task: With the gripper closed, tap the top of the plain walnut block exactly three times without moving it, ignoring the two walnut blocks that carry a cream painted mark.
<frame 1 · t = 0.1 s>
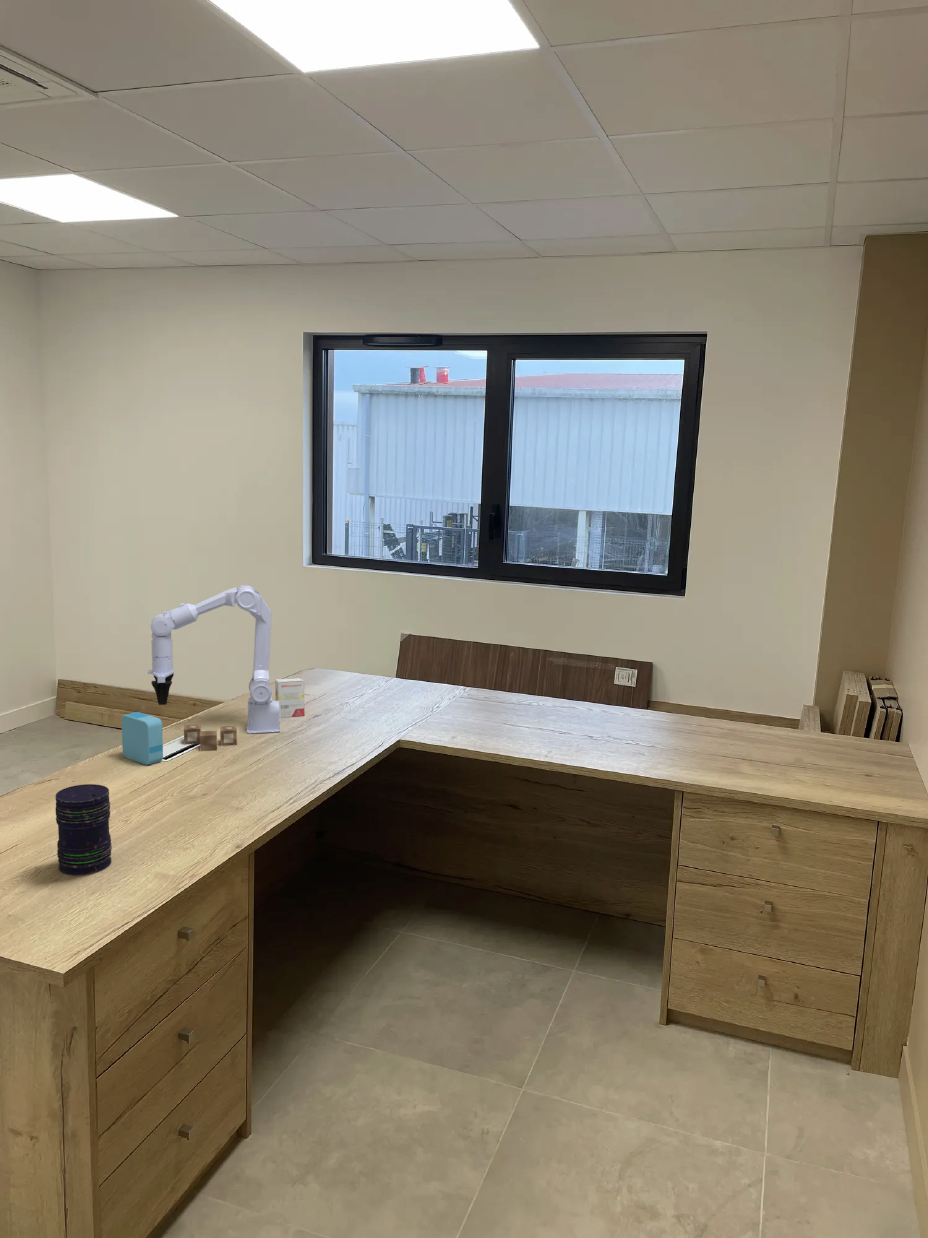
hand: (163, 701, 260), 10 cm above the table, tool pointing down, fingers open, 7 cm apart
marked block 2: (228, 743, 255), on the table
dark blue barrel: (85, 865, 176), on the table
ink box: (289, 715, 286), on the table
plain block: (208, 748, 250), on the table
marked block 1: (192, 742, 256), on the table
data package: (142, 760, 239), on the table
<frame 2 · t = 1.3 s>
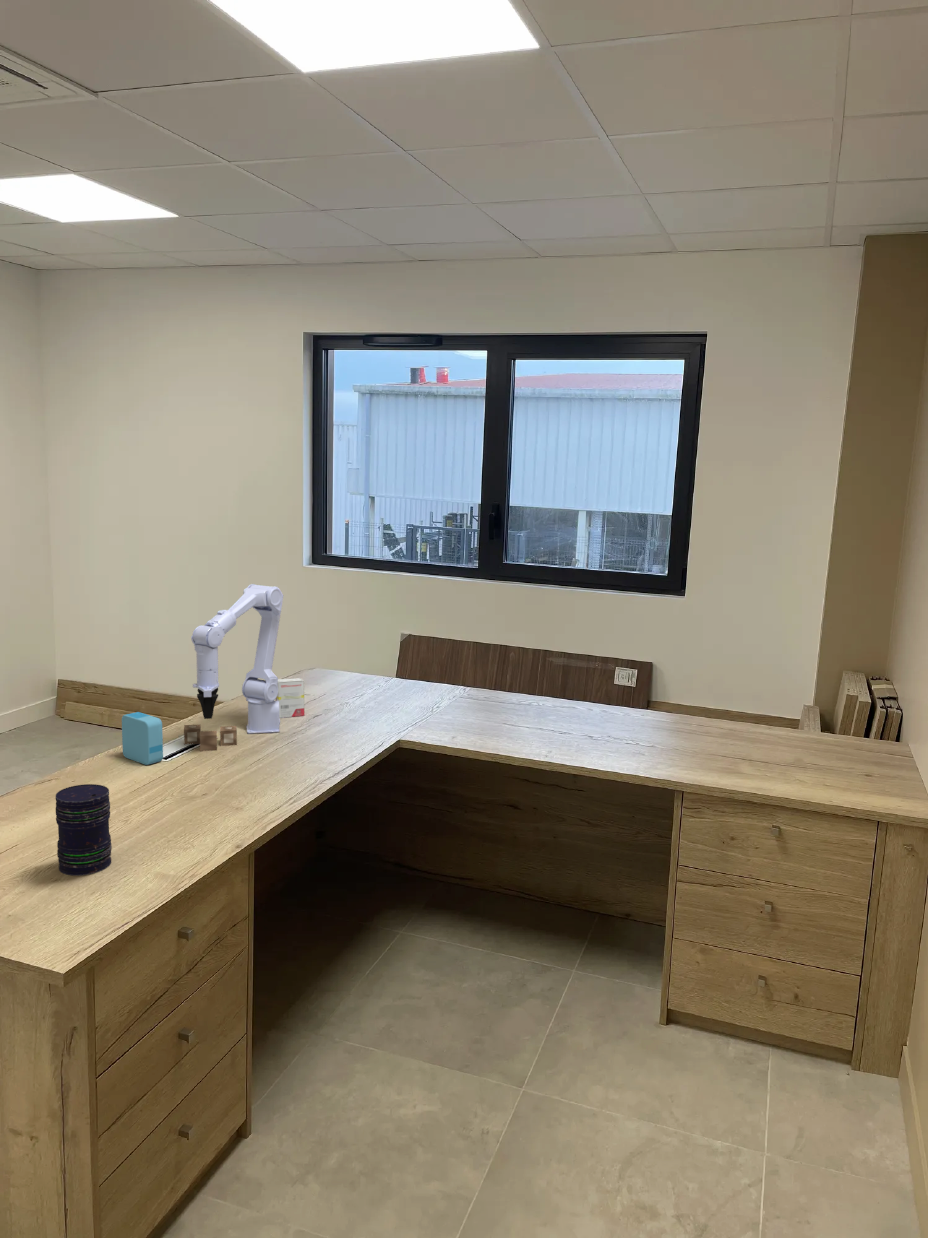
hand: (208, 716, 249), 9 cm above the table, tool pointing down, fingers open, 4 cm apart
nothing on the table moved.
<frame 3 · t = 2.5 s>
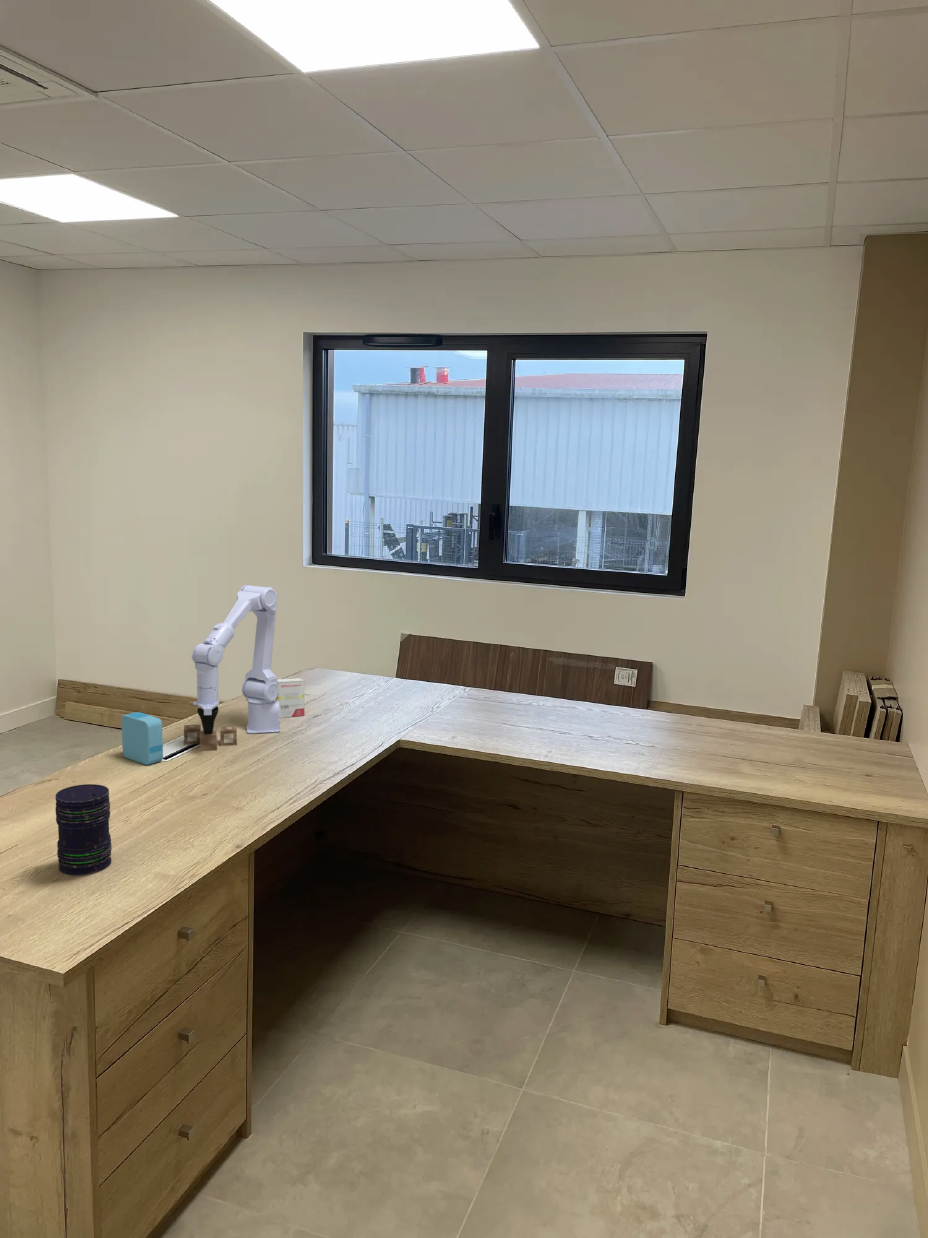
hand: (208, 733, 249), 4 cm above the table, tool pointing down, fingers closed, pressing on plain block
plain block: (208, 748, 250), on the table, touching gripper
everything else where it was.
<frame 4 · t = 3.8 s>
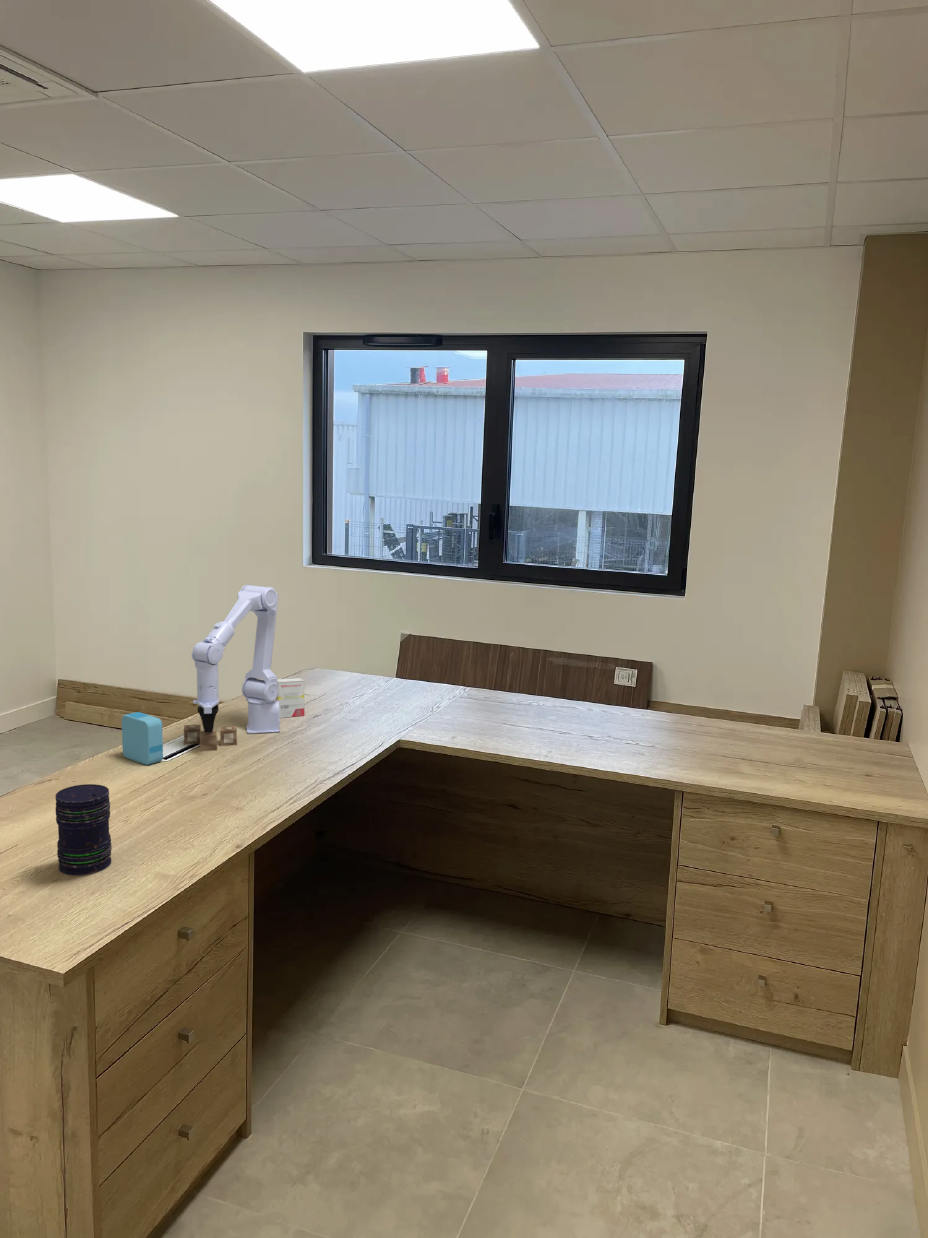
hand: (208, 731, 249), 5 cm above the table, tool pointing down, fingers closed
plain block: (208, 748, 250), on the table
everything else where it was.
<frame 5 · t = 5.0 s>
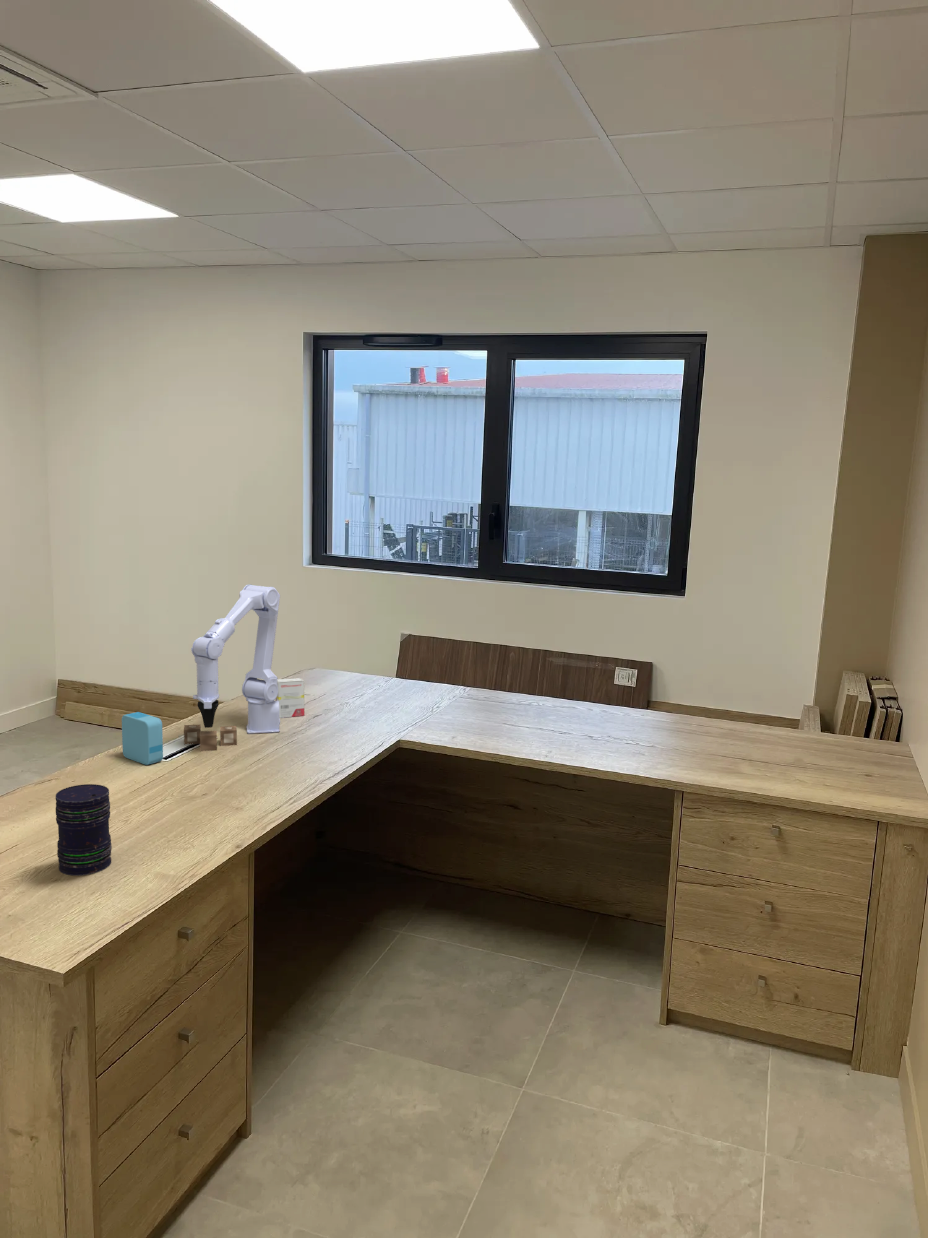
hand: (208, 727, 249), 6 cm above the table, tool pointing down, fingers closed
nothing on the table moved.
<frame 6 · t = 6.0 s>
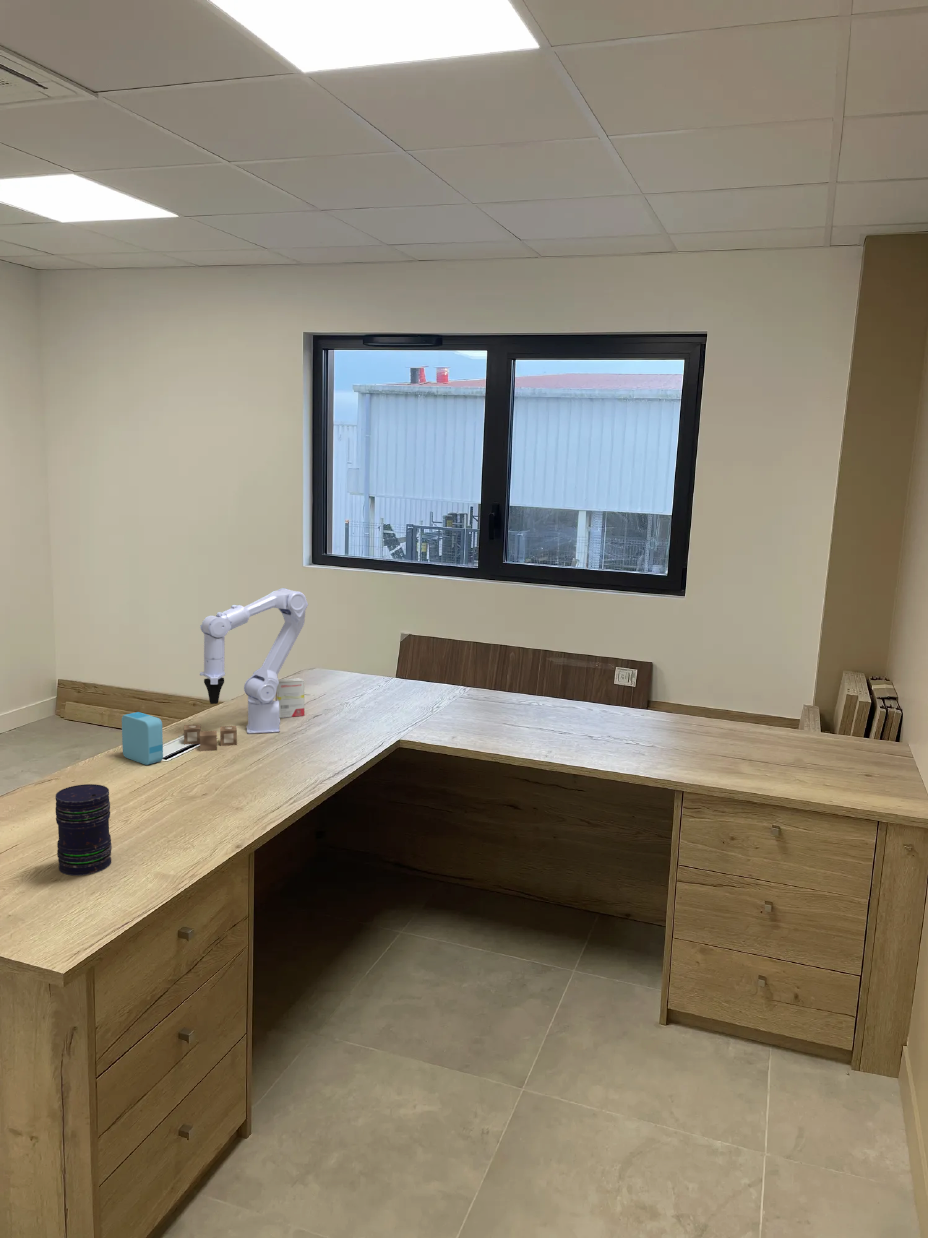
hand: (214, 703, 258), 10 cm above the table, tool pointing down, fingers closed
nothing on the table moved.
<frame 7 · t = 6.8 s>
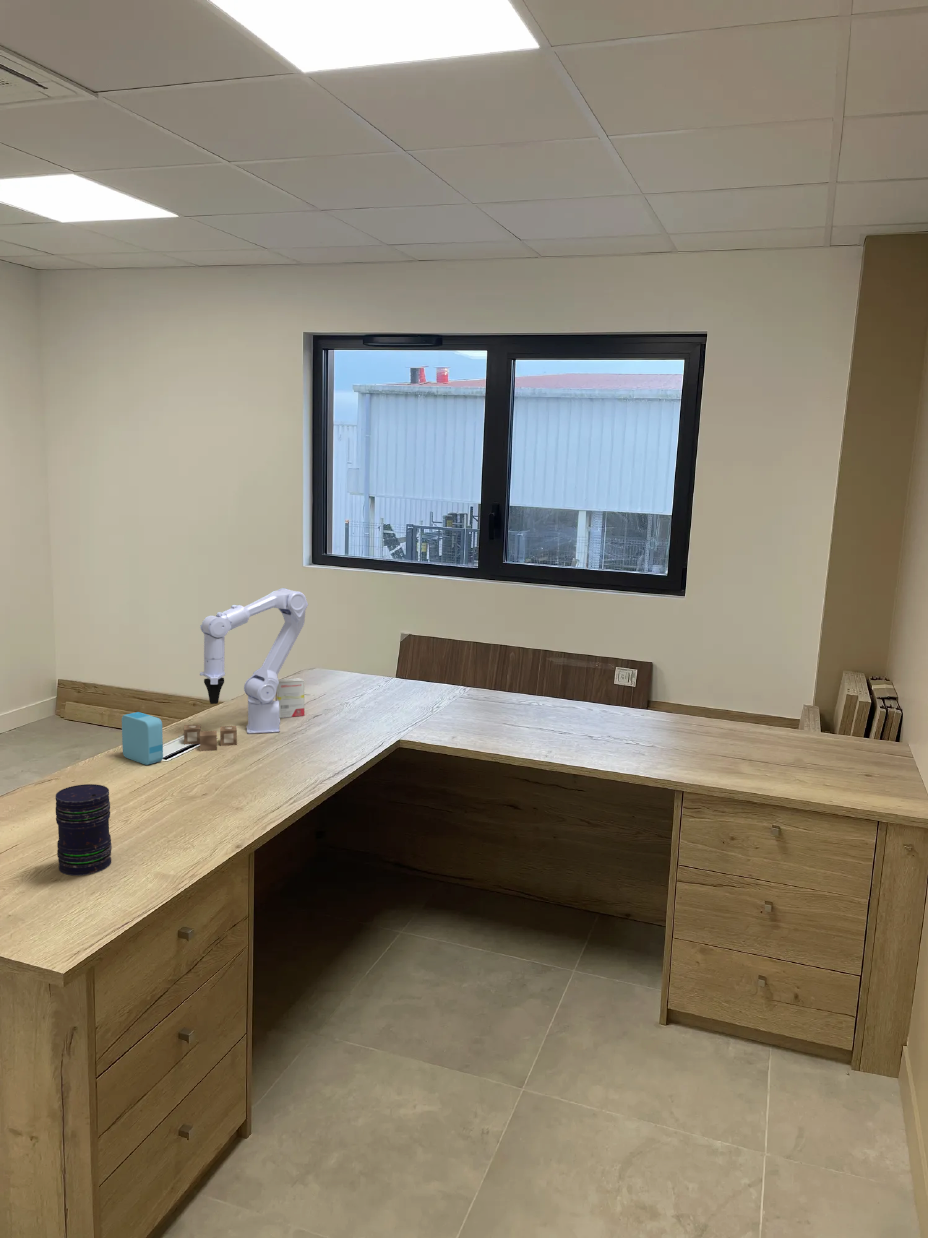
hand: (214, 703, 258), 10 cm above the table, tool pointing down, fingers closed
nothing on the table moved.
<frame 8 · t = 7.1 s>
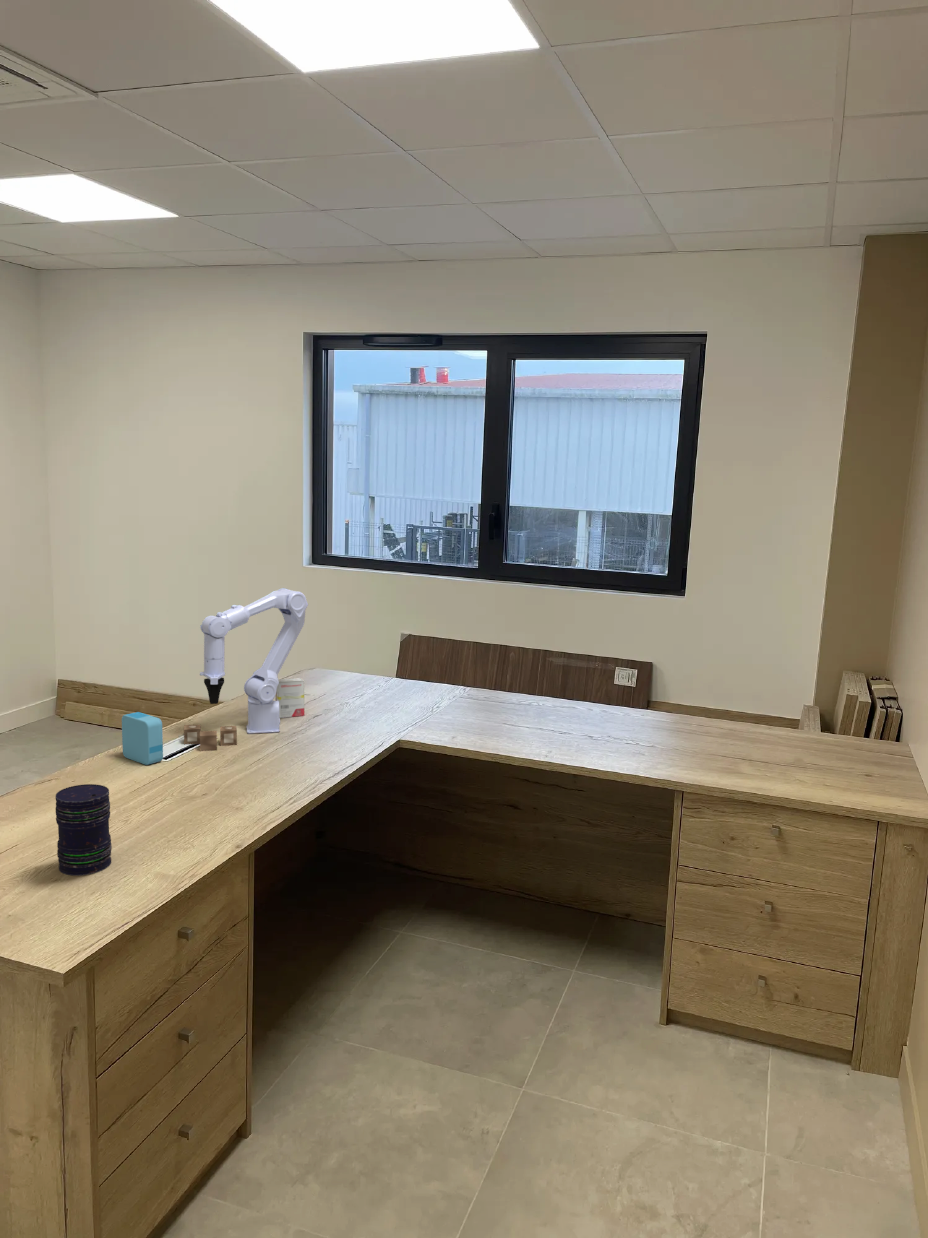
hand: (214, 703, 258), 10 cm above the table, tool pointing down, fingers closed
nothing on the table moved.
at the end: plain block moved 0.1 cm from its start; plain block tilted 0°; marked block 2 moved 0.1 cm from its start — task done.
